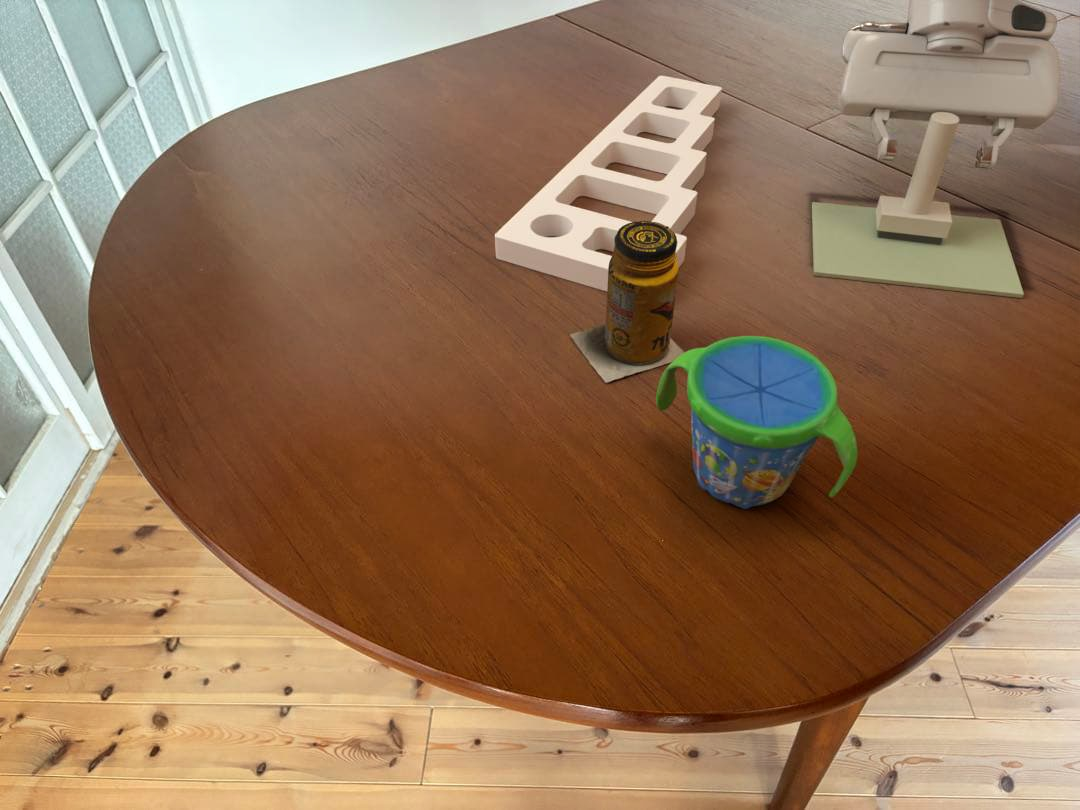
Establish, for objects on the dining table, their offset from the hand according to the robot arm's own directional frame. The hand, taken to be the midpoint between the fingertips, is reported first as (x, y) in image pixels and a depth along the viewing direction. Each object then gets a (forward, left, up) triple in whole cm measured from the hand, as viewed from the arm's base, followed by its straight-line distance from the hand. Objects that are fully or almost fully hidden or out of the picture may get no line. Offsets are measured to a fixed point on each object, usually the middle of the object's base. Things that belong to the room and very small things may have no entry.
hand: (935, 162), depth 86 cm
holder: (+28, -7, -9) cm, 30 cm away
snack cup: (+16, +38, -9) cm, 42 cm away
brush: (0, -1, -9) cm, 9 cm away
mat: (0, +2, -9) cm, 9 cm away
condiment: (+27, +24, -9) cm, 37 cm away
